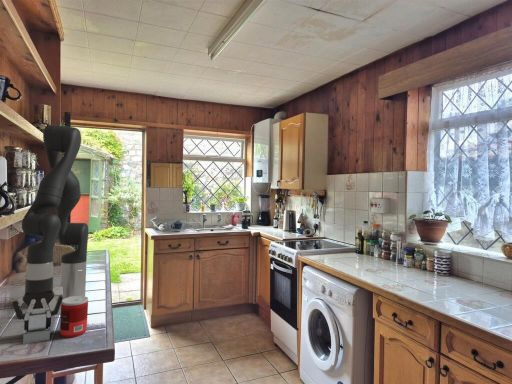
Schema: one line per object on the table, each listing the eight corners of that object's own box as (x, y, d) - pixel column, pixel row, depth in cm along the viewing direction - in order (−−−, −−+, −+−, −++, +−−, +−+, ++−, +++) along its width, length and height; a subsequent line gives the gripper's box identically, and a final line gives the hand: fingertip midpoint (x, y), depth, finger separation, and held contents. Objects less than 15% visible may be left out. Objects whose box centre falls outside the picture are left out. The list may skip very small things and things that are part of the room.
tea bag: (61, 315, 126) (62, 288, 126) (40, 317, 123) (41, 289, 123) (62, 311, 129) (63, 285, 129) (41, 313, 126) (42, 287, 127)
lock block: (29, 331, 109) (30, 309, 109) (46, 329, 111) (47, 307, 111) (27, 338, 103) (28, 315, 103) (45, 336, 106) (46, 313, 106)
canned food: (90, 328, 115) (92, 296, 115) (79, 338, 107) (81, 304, 107) (67, 327, 114) (69, 295, 114) (54, 337, 106) (56, 303, 106)
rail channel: (26, 333, 109) (26, 323, 109) (50, 329, 112) (51, 320, 112) (23, 344, 101) (23, 334, 101) (49, 340, 105) (49, 330, 105)
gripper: (65, 271, 114) (63, 322, 114) (14, 275, 107) (12, 329, 107) (65, 276, 108) (63, 330, 107) (10, 281, 101) (8, 338, 101)
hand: (37, 329), depth 107 cm, fingers closed on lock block, 4 cm apart
